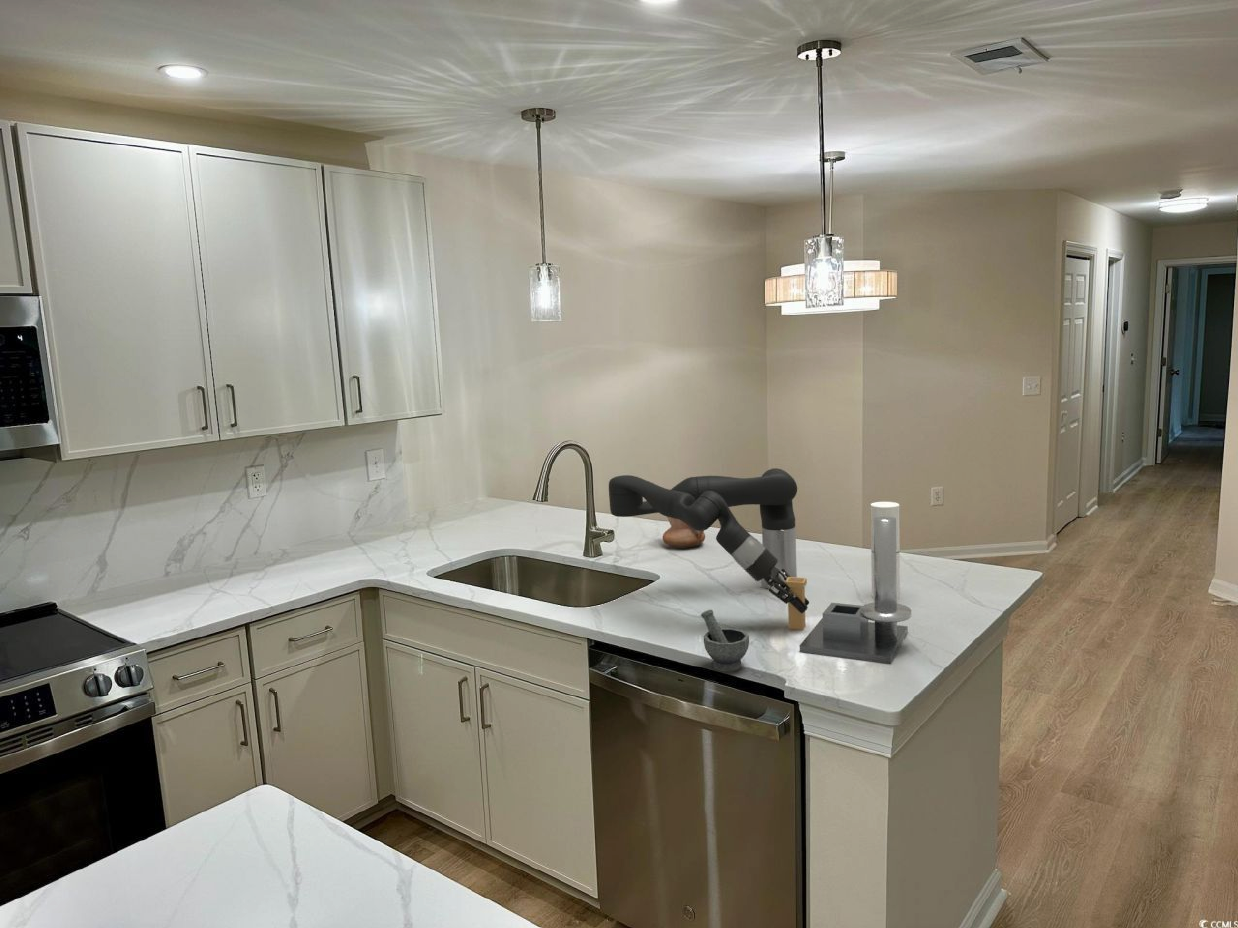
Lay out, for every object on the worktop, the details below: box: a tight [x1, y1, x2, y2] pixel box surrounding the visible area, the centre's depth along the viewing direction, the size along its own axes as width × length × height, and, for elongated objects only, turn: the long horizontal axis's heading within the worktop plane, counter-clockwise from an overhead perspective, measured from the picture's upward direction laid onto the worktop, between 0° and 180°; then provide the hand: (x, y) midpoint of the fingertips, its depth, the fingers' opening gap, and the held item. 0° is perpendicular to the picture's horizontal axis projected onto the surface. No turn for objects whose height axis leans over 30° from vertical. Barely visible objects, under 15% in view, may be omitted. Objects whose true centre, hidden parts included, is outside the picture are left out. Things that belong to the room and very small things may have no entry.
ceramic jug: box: [662, 516, 706, 549], centre depth 290 cm, size 18×14×14 cm
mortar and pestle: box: [700, 609, 750, 672], centre depth 188 cm, size 11×9×12 cm
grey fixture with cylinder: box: [799, 517, 912, 665], centre depth 194 cm, size 22×20×30 cm
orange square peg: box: [785, 576, 808, 631], centre depth 208 cm, size 4×4×12 cm
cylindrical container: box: [870, 501, 901, 600], centre depth 226 cm, size 7×7×25 cm
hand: (805, 607), depth 207 cm, fingers closed on orange square peg, 3 cm apart
